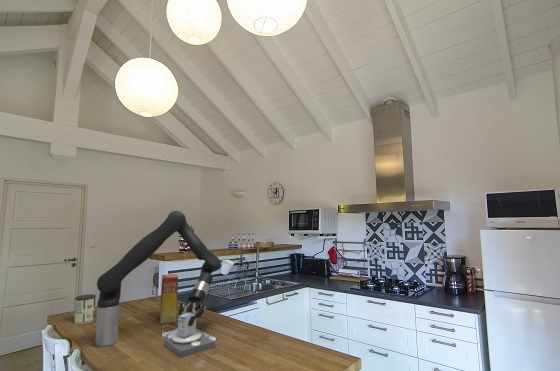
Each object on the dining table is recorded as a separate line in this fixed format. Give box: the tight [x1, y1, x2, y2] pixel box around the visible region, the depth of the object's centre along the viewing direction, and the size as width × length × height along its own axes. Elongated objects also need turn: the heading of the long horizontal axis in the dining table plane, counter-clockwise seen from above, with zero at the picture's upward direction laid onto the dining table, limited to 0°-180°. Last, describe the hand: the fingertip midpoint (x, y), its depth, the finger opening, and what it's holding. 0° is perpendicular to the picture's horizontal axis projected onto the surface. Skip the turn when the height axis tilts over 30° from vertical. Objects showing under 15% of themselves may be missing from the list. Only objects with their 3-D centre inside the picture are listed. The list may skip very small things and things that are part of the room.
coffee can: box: [73, 293, 97, 325], centre depth 183 cm, size 10×10×14 cm
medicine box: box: [177, 312, 197, 337], centre depth 146 cm, size 8×4×9 cm, turn 159°
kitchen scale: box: [163, 330, 216, 358], centre depth 143 cm, size 18×16×4 cm
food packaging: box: [159, 273, 179, 325], centre depth 185 cm, size 13×9×25 cm
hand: (184, 324), depth 144 cm, fingers closed on medicine box, 4 cm apart
